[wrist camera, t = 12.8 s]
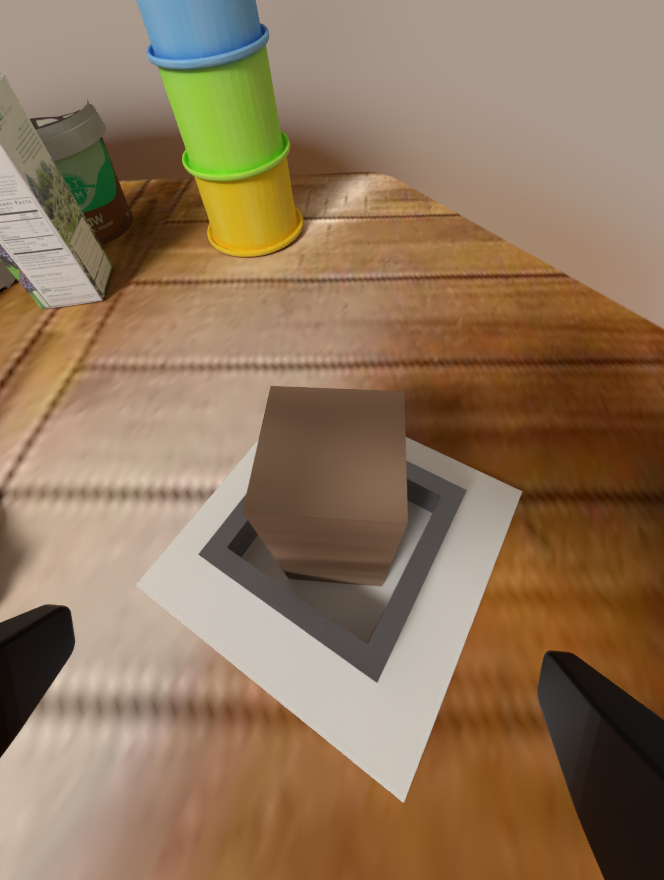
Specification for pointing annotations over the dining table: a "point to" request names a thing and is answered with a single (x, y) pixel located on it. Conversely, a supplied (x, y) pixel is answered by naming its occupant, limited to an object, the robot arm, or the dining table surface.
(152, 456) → the dining table surface
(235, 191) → the stacking cups
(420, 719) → the mat
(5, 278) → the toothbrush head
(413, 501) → the collar
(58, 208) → the syrup box
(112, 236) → the food container
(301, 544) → the walnut block
